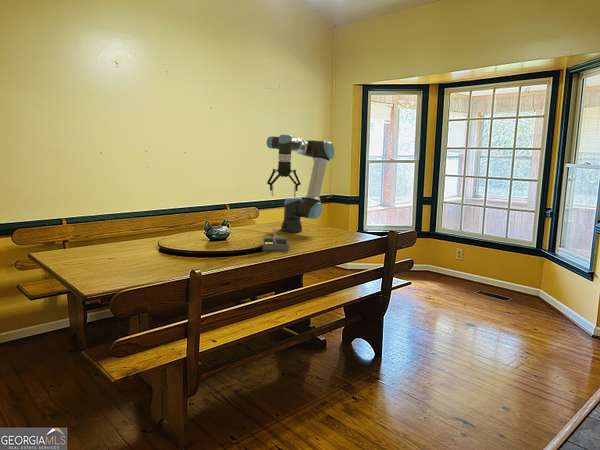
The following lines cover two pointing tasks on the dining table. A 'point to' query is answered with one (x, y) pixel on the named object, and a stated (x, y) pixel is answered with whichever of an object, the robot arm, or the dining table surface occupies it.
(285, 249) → the tray
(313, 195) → the robot arm
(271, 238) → the pipe connector
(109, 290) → the dining table surface
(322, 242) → the dining table surface
